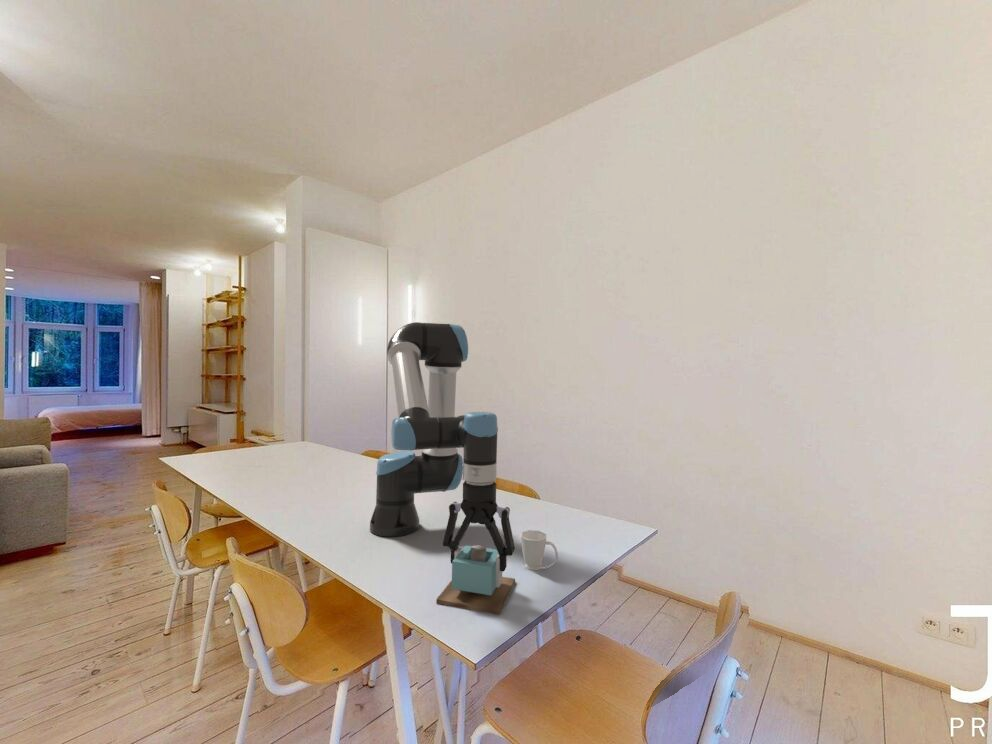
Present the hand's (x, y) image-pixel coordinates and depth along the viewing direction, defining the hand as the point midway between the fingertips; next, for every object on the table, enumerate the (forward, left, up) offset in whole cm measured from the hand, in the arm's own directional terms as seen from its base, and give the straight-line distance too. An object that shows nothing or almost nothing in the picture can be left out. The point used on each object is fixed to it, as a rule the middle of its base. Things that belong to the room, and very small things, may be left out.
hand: (477, 581), depth 95 cm
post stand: (0, 0, -2) cm, 2 cm away
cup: (+11, +16, -3) cm, 20 cm away
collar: (0, 0, 0) cm, 0 cm away
